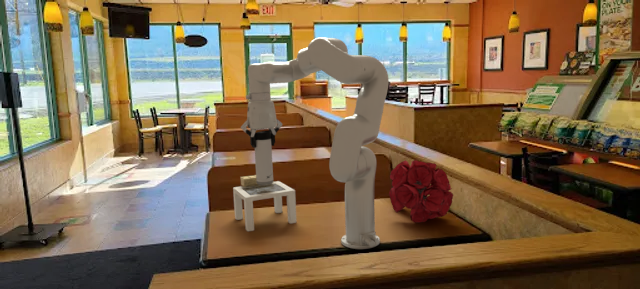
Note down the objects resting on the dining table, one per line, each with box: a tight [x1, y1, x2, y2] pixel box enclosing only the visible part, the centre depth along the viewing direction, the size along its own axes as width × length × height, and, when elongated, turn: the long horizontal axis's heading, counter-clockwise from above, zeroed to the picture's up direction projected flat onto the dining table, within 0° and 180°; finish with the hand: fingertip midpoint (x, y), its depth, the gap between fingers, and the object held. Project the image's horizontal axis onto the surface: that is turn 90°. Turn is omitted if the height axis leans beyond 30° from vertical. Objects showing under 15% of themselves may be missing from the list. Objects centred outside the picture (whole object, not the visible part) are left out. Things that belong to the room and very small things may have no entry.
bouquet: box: [388, 159, 454, 223], centre depth 167 cm, size 22×24×30 cm
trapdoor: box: [240, 174, 284, 195], centre depth 171 cm, size 16×13×4 cm
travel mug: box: [254, 129, 274, 185], centre depth 165 cm, size 6×7×20 cm
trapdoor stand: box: [232, 180, 298, 232], centre depth 170 cm, size 18×19×12 cm
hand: (263, 145), depth 164 cm, fingers open, 6 cm apart
